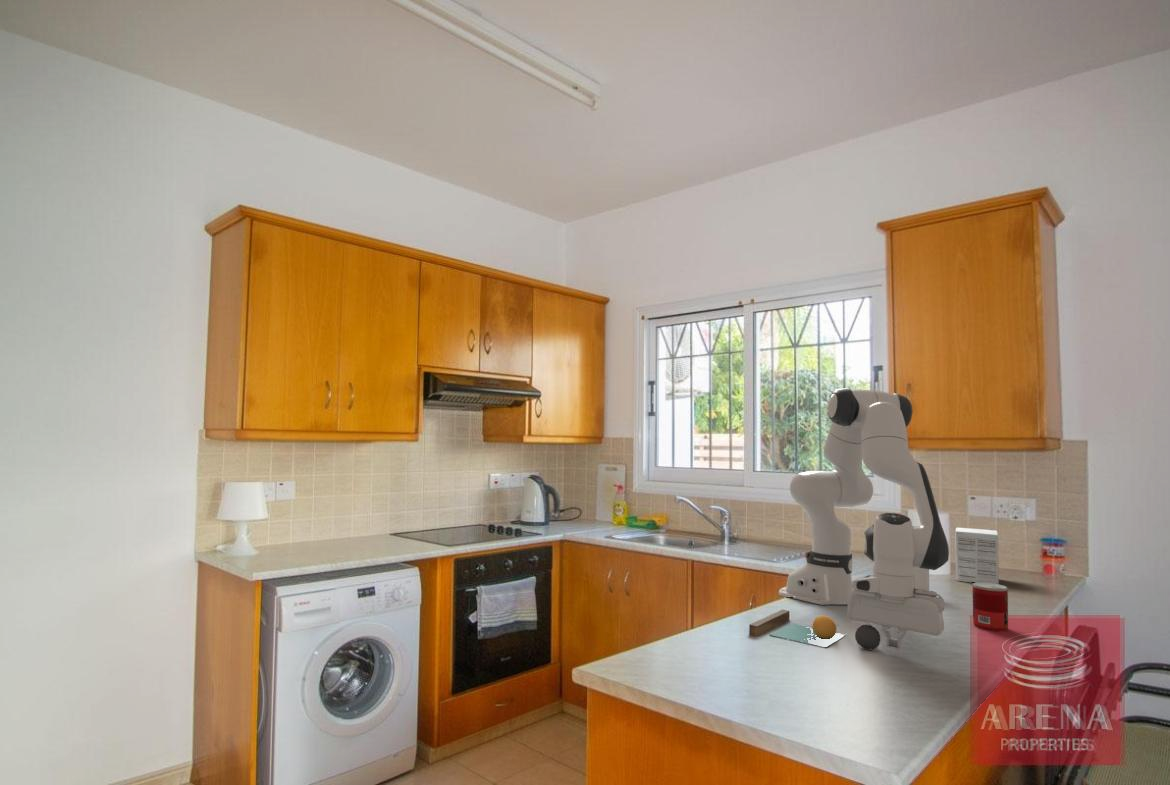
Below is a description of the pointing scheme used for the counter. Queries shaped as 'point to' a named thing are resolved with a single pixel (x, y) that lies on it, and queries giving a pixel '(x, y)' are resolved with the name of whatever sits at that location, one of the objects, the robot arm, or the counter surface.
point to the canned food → (990, 606)
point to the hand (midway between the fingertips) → (894, 646)
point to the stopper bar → (768, 623)
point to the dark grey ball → (867, 637)
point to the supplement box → (977, 555)
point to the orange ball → (824, 627)
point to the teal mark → (795, 633)
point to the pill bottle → (921, 578)
